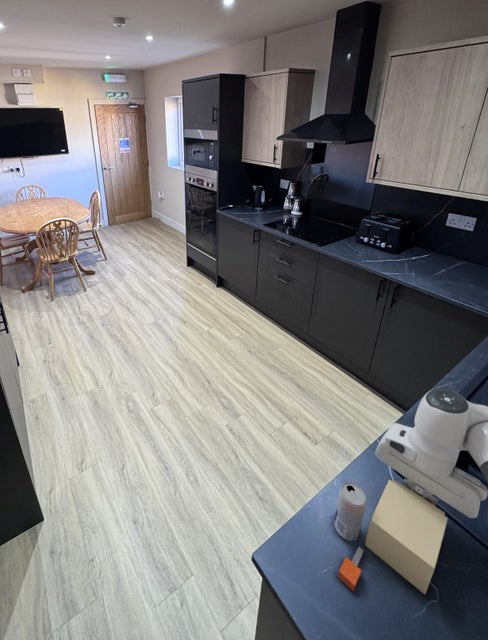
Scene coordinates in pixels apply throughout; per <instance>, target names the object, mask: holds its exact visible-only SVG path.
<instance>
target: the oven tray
mask: <svg viewBox="0 0 488 640" xmlns="http://www.w3.org/2000/svg"><path fill="white" fill-rule="evenodd" d="M391 481H392V482H394V483H395V484H397V485H398V486H400V487H401V488H403V489H404V490H406V491H407V492H409V493H410V494H412V495H413V496H415V497H416V498H418V499H419V500H421V501H422V502H424V503H426V504H427V505H429V506H430V507H432V508H433V509H435V510H436V511H438V512H439V513H441V514H442V515H444V516H445V515H446V512H445V511H443V510H442V509H440V508H438V507H437V504H438V501H439V498H437V497H435V496H431V497H425V499H423V498H422V497H420V496H419V495H417V494H416V493H414V492H413V491H411V487H410V485H409V483H408V481H407V478H404V479H403V481H402V483H400V482H399V481H398V480H396V479H394V478H393V479H392V480H391ZM445 517H446V516H445Z"/></svg>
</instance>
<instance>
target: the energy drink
mask: <svg viewBox="0 0 488 640" xmlns="http://www.w3.org/2000/svg"><path fill="white" fill-rule="evenodd" d="M366 506H367V498H366V494H365V492H364V490H363V489H362V488H361V486H359V485H358V484H356V483H354V482H350V481H347V482H344V483H343V484H342V485H341V486H340V488H339V493H338V499H337V504H336V508H335V513H334V514H335V515H334V519H333V524H334V528H335V531H336V532H337V533H338V534H339V536H340V537H342V538H343V539H344V540H345V541H346V540H347V541H350V542H354V541H356V540H358V539H359V535H360V531H361V526H362V523H363V520H364V519H363V518H364V513H365V510H366Z"/></svg>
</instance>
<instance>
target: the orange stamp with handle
mask: <svg viewBox="0 0 488 640" xmlns="http://www.w3.org/2000/svg"><path fill="white" fill-rule="evenodd" d="M364 552H365V551H364V549H363V548H361V547H360V546H357V548H356V551H355V553H354V554H353V557H352V559H350V558H349V557H348V556H345V558H344V559H343V563H342V565H341V567H340V568H339V571H338V575H337V578H338V579H340V580H341V581H342V582H343V583H344V584H345V585H346V586H347V587H348V588H349V589H350V590H351V591H352V592H355V589H356V587H357V584H358V583H359V580H360V578H361V575H362V569H361V568H360V567H359V564H360V562H361V560H362V558H363V555H364Z"/></svg>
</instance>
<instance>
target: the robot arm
mask: <svg viewBox="0 0 488 640" xmlns="http://www.w3.org/2000/svg"><path fill="white" fill-rule="evenodd" d="M413 421H414V427H411V426H407V425H404V424H401V423H397V422H393V423H392V424H391V425H389V427H388V429H387V431H386V432H385V433H384V434H383V435H382V437H381V439H380V441H379V443H378V445H377V446H376V449H375V451H374V455H375V457H376V459H377V460H379V461H380V462H382V463H383V464H385V465H386V466H388V467H389V468H391V469H393V470H394V471H396V472H397V473H399V474H401V475H402V476H404V477H405V478H406V480H407V481H408V483H409V485H410V487H411V491H413V492H414V493H416V494H417V495H419V496H420V497H422V498H423V499H425V497H431V496H433V495H434V496H433V497H435V498H437V499H440V500H441V501H443V502H444V503H446V504H448V505H449V506H450V507H452V508H454V509H455V510H457V511H458V512H460V513H461V514H463V515H465V516H466V517H468V518H469V519H477V518H478V515H479V512H480V506H481V502H482V501H485V500H486V499H487V498H488V489H487V487H486V486H485V485H484V484H483V483H482V481H481V480H479V479H478V478H476V477H474V476H472V475H470V474H468V473H467V472H466V471H464V470H462V469H460V468H458V467H457V466H456V464H457V461H458V458H459V454H460V452H461V451H466V452H468V453H469V455H470V456H471V457H472V459H473V461H474V463H476V465H477V466H478V468H479V470H480V472H481V474H482V476H483V477H484V479H485V481H486V482H487V484H488V405H486V404H482V403H477V402H476V403H475V402H470V401H468V400H467V399H465V397H463V396H462V395H461V394H460V393H457V392H455V391H452V390H450V389H446V388H433V389H430V390H428V391H427V392H426V393H425V394H424V396H422V398H421V400H420V401H419V404H418V406H417V409H416V412H415V417H414V420H413Z"/></svg>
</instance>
